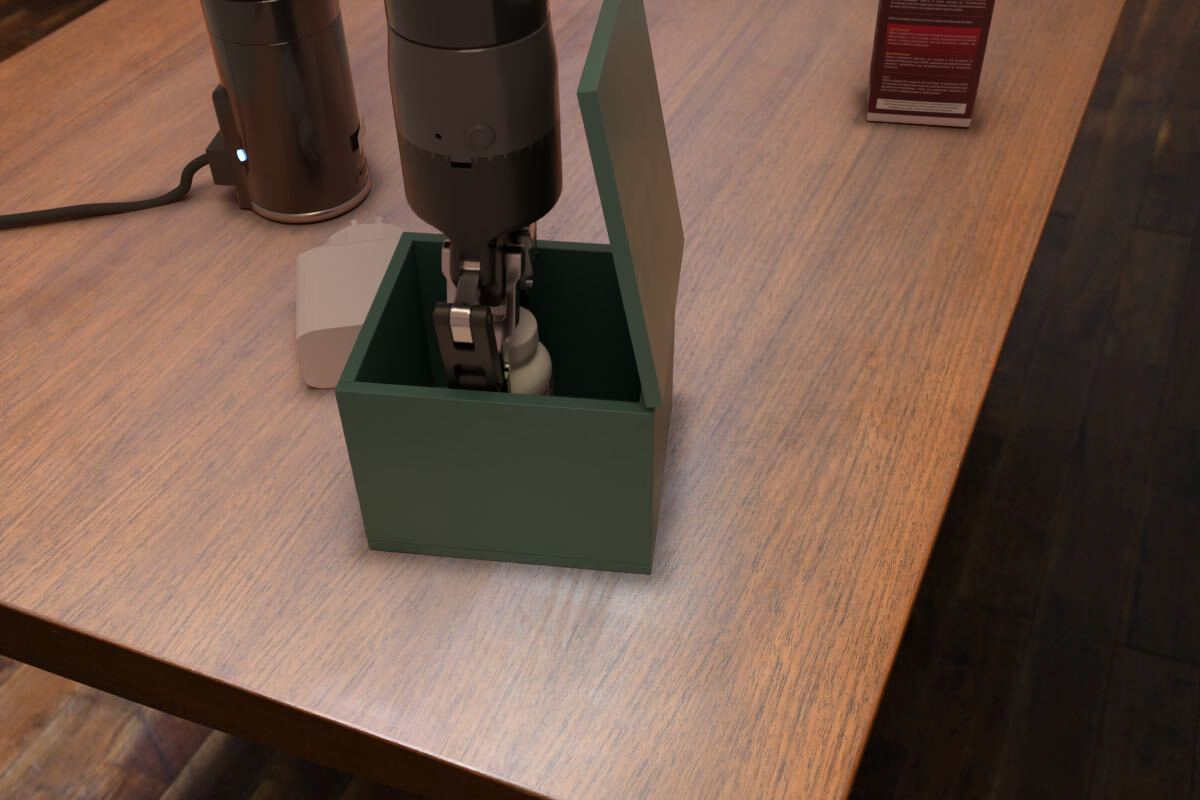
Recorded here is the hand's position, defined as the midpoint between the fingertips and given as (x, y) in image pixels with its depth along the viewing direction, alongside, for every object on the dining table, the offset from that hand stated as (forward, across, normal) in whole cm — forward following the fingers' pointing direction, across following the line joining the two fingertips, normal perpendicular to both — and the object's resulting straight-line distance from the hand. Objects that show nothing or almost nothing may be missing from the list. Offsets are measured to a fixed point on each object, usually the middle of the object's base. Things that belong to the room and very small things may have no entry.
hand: (501, 383), depth 66 cm
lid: (-13, 0, +7) cm, 15 cm away
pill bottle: (+6, 0, 0) cm, 6 cm away
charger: (+7, -14, -12) cm, 20 cm away
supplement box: (+7, -45, +26) cm, 52 cm away
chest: (+7, 0, +1) cm, 7 cm away
